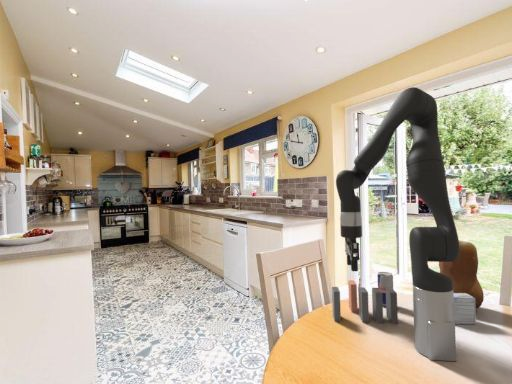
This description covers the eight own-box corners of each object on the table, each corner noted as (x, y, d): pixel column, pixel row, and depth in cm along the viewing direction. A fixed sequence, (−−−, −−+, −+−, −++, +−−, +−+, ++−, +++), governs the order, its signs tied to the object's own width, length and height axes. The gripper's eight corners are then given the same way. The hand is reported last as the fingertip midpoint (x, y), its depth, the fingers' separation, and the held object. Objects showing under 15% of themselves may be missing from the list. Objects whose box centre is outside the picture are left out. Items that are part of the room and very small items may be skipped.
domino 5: (397, 323, 90) (396, 293, 91) (391, 323, 91) (390, 293, 91) (392, 317, 95) (391, 288, 96) (386, 317, 96) (385, 287, 96)
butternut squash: (484, 306, 102) (481, 238, 102) (484, 320, 91) (481, 244, 92) (439, 298, 111) (437, 235, 111) (434, 310, 100) (432, 240, 101)
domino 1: (340, 321, 93) (339, 291, 93) (334, 321, 93) (333, 291, 93) (338, 315, 98) (337, 286, 98) (332, 315, 98) (331, 286, 98)
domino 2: (357, 312, 100) (356, 284, 100) (351, 312, 100) (350, 284, 100) (354, 306, 105) (353, 280, 105) (349, 306, 105) (348, 280, 105)
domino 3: (368, 322, 92) (367, 292, 92) (362, 322, 92) (361, 292, 92) (365, 316, 97) (364, 287, 97) (359, 316, 97) (358, 287, 97)
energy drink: (375, 303, 107) (374, 272, 108) (386, 301, 109) (385, 271, 109) (385, 308, 102) (384, 276, 102) (397, 306, 104) (396, 274, 104)
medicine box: (467, 318, 93) (466, 292, 93) (476, 325, 88) (475, 297, 88) (442, 318, 94) (441, 292, 94) (450, 324, 89) (449, 297, 89)
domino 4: (383, 323, 91) (382, 292, 91) (376, 323, 91) (375, 292, 92) (378, 316, 96) (377, 287, 96) (372, 316, 96) (371, 287, 96)
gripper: (366, 226, 95) (367, 273, 95) (357, 222, 109) (358, 263, 109) (343, 226, 97) (344, 273, 96) (337, 222, 111) (339, 263, 110)
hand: (352, 267), depth 103 cm, fingers open, 8 cm apart
